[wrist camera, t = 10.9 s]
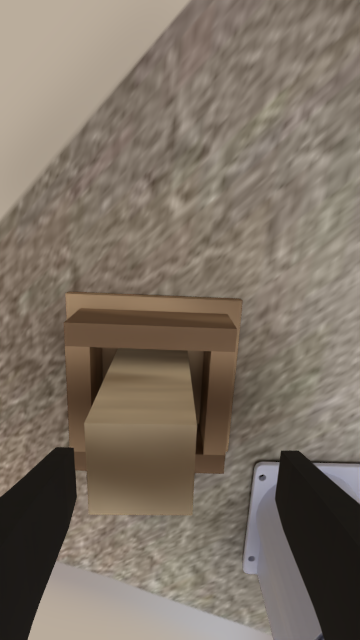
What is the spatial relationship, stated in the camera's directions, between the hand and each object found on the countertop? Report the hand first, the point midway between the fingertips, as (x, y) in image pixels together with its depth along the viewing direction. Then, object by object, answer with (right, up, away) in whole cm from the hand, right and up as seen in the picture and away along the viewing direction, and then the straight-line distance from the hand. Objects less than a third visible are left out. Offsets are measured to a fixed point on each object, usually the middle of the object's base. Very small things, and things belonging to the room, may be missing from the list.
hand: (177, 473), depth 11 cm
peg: (-2, +2, +9) cm, 9 cm away
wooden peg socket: (-2, +2, +9) cm, 10 cm away
